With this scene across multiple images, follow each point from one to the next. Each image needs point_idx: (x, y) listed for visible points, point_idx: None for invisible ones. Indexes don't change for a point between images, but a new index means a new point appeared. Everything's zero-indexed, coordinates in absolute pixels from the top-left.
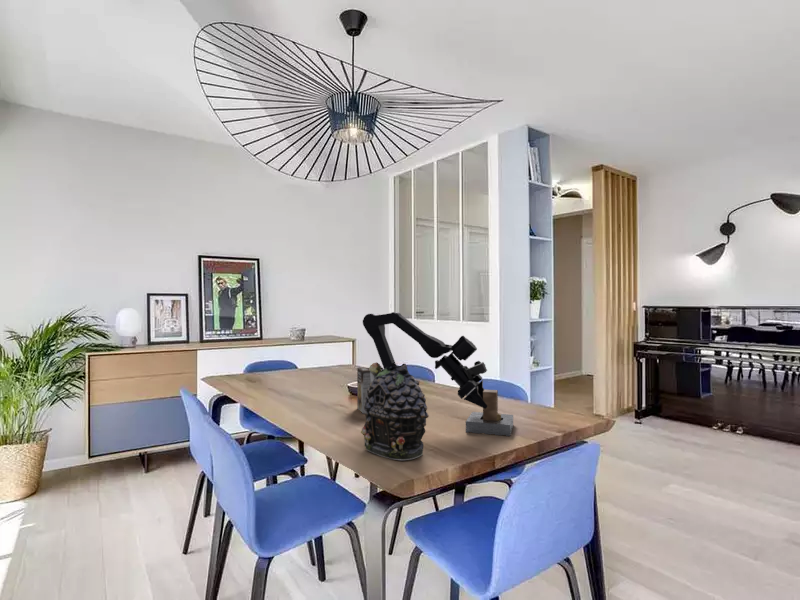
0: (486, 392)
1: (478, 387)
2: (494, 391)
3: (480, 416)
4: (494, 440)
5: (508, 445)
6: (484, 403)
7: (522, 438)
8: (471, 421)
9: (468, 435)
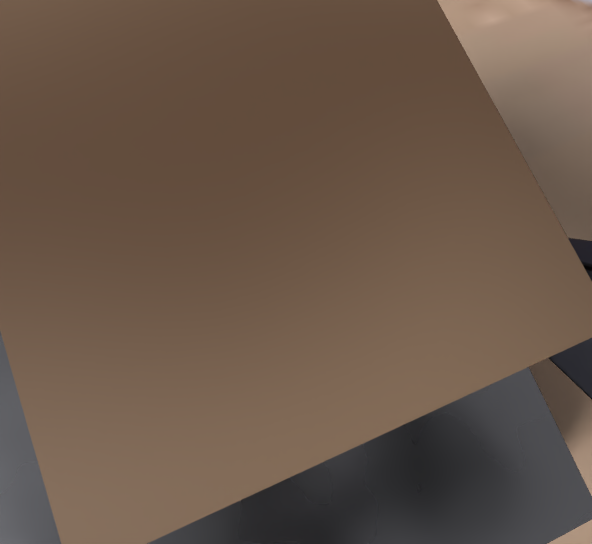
0: (540, 211)
1: None
2: (267, 20)
3: (241, 502)
4: (532, 169)
5: (555, 51)
6: (584, 250)
7: None
8: (551, 450)
9: (582, 412)
